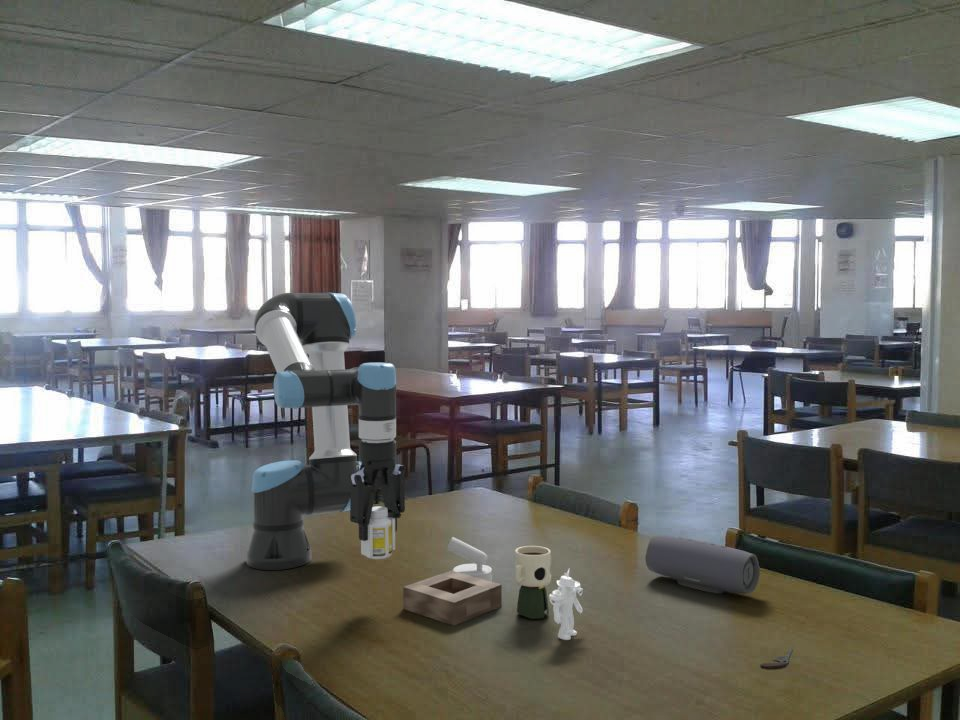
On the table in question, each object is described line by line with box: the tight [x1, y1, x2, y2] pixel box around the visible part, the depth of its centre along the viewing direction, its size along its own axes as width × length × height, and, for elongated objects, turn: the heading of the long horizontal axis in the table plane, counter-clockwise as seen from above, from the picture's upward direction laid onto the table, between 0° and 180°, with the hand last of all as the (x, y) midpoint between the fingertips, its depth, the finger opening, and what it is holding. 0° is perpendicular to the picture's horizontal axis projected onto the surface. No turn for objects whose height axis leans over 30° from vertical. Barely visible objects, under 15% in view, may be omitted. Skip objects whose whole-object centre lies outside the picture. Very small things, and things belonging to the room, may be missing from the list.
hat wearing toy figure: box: [548, 567, 584, 641], centre depth 159 cm, size 9×4×12 cm, turn 143°
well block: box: [402, 570, 503, 627], centre depth 174 cm, size 14×14×4 cm
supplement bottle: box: [365, 505, 393, 560], centre depth 176 cm, size 5×5×10 cm
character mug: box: [514, 545, 552, 619], centre depth 169 cm, size 11×7×13 cm, turn 142°
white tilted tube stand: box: [446, 536, 493, 582], centre depth 191 cm, size 9×10×10 cm
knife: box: [759, 647, 794, 670], centre depth 151 cm, size 14×4×1 cm, turn 151°
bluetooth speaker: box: [645, 534, 761, 595], centre depth 186 cm, size 23×9×10 cm, turn 47°
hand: (378, 551), depth 177 cm, fingers closed on supplement bottle, 5 cm apart
